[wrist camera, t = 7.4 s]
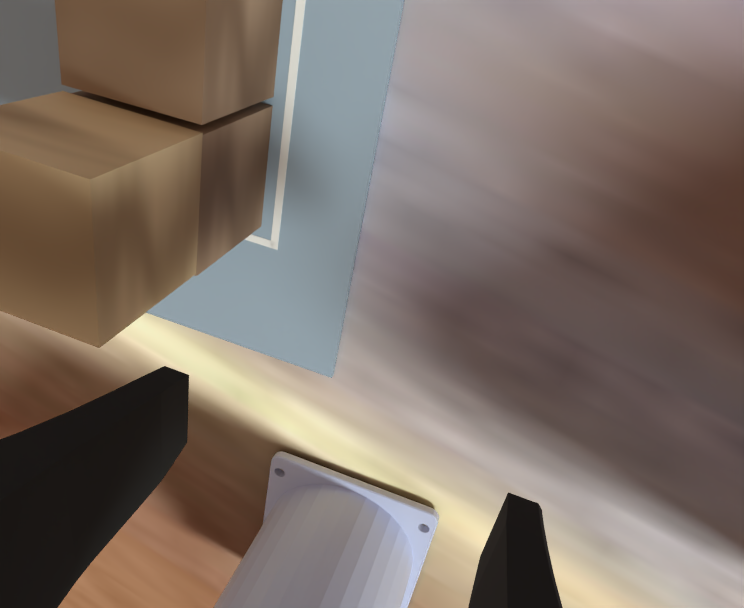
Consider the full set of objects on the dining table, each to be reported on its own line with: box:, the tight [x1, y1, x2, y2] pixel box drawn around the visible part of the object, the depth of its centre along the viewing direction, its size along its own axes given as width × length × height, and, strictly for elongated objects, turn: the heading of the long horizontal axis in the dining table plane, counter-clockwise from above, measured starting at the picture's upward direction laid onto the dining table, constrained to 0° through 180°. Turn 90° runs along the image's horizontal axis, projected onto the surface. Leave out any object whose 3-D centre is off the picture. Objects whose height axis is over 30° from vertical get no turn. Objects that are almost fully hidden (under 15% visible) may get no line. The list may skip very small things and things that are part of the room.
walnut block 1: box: [55, 0, 283, 125], centre depth 18 cm, size 4×4×4 cm
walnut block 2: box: [72, 91, 273, 276], centre depth 20 cm, size 4×4×4 cm
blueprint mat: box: [0, 0, 404, 378], centre depth 23 cm, size 16×20×1 cm
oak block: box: [0, 91, 203, 348], centre depth 16 cm, size 4×4×4 cm
